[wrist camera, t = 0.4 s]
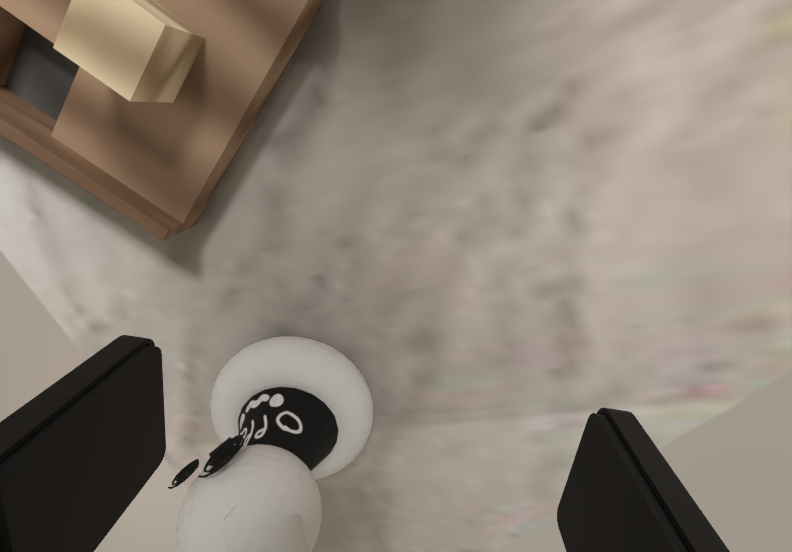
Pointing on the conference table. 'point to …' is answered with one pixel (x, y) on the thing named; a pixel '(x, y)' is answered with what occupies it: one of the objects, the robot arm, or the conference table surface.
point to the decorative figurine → (274, 447)
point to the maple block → (130, 46)
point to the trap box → (146, 105)
